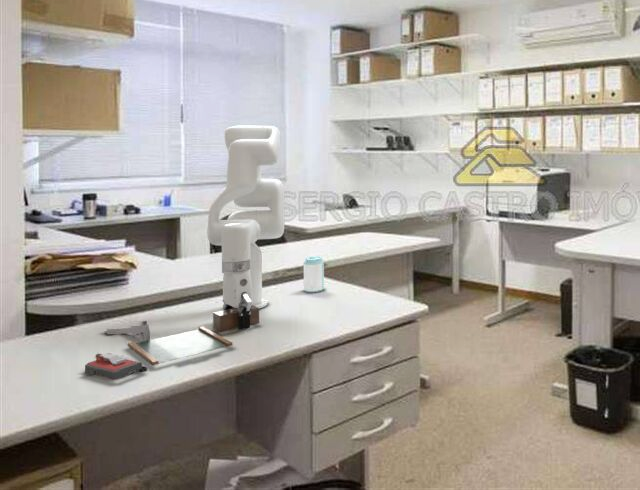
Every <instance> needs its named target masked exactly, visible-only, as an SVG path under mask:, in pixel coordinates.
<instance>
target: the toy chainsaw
mask: <svg viewBox="0 0 640 490" xmlns="http://www.w3.org/2000/svg"><path fill="white" fill-rule="evenodd" d="M95 358H96V359H95V360H92V361H89V362H87V363H86V364H85V365H84V373H85V374H89V375H92V376H99V377H103V378H106V379H110V380H120V379H123V378H125V377H128V376H130V374H133V373H134V374H136V373H143V372H147V371H148V367H147V366H144V365H143V362H141V361H136V360H133V357H131V356H127V355H124V354H121V355H118V354H115V353H110V352H106V353H96V354H95Z"/></svg>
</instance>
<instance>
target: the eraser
mask: <svg viewBox="0 0 640 490" xmlns="http://www.w3.org/2000/svg"><path fill="white" fill-rule="evenodd" d="M241 309H242V310H243V308H241ZM212 312H213V311H212ZM238 316H240V315H239V312H238V309H237V308H233V309H228V310H224V309H223V310H218V311H214V312H213V313H212V328H213V329H214V330H216V331H217V332H220V333H221V332H225V331H226V332H227V331H230V330H235V329H238ZM259 323H260V309H259V308H258V307H256V306H253V305H251V314H250V326H253V325H256V324H259Z"/></svg>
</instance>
